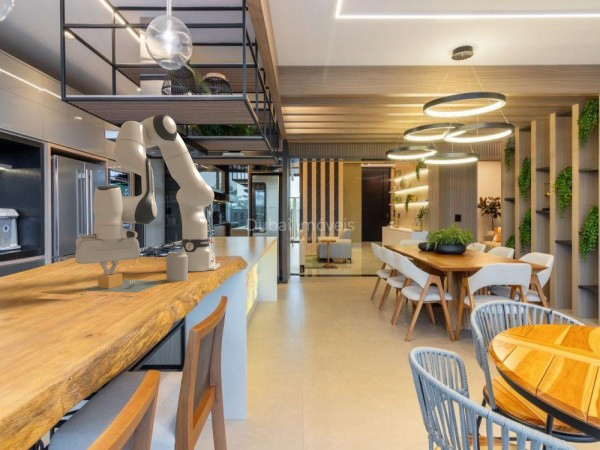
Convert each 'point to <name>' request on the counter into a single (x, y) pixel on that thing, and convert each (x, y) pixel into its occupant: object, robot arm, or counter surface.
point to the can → (177, 266)
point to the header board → (128, 286)
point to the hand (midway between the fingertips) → (109, 274)
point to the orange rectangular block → (110, 280)
